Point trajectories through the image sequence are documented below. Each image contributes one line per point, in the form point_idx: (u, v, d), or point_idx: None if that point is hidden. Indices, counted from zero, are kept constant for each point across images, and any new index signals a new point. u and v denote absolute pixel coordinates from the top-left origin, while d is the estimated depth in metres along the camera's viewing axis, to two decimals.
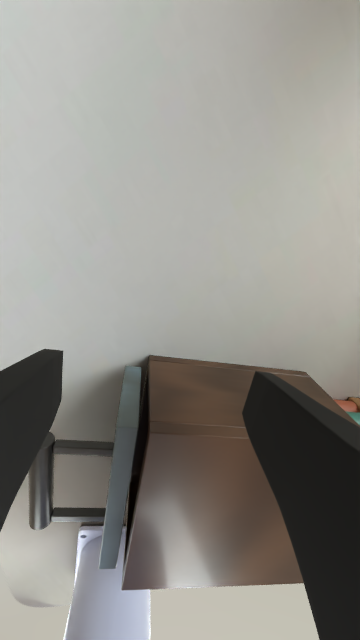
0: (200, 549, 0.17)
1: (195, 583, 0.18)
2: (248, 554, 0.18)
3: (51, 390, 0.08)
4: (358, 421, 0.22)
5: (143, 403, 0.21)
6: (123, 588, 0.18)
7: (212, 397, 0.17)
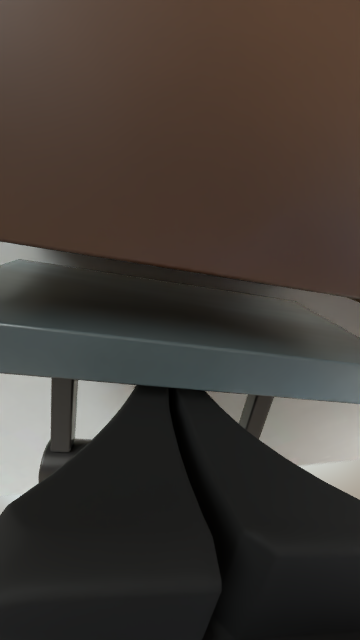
0: None
1: None
2: None
3: None
4: None
5: None
6: None
7: None
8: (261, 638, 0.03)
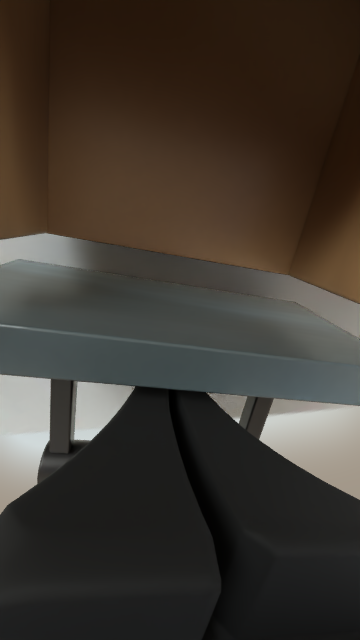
0: None
1: None
2: None
3: None
4: None
5: None
6: None
7: None
8: (261, 638, 0.03)
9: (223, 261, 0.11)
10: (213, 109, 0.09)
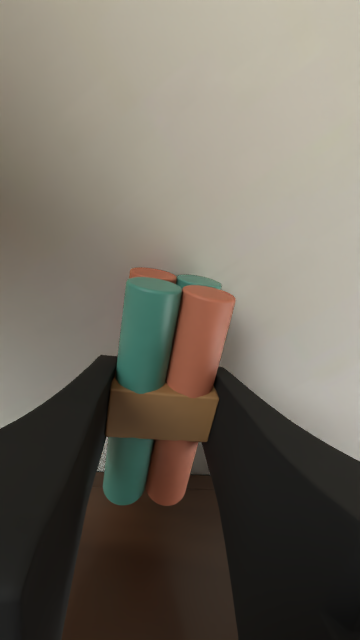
0: None
1: None
2: None
3: None
4: (112, 464, 0.09)
5: None
6: None
7: None
8: None
9: None
10: None
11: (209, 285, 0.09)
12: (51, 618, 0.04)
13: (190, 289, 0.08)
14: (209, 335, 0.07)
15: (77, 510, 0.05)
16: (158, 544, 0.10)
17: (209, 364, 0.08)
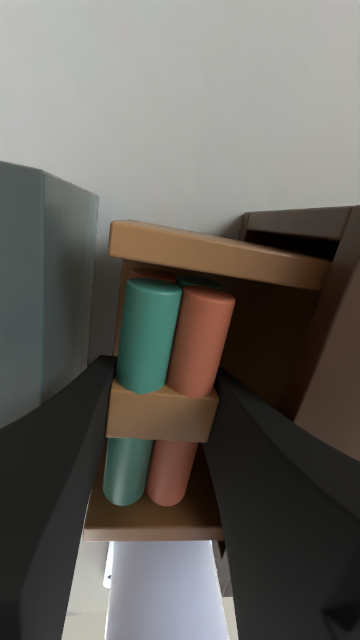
0: None
1: None
2: None
3: None
4: (112, 464, 0.09)
5: None
6: (226, 593, 0.10)
7: None
8: None
9: None
10: None
11: (209, 285, 0.09)
12: (51, 618, 0.04)
13: (190, 289, 0.08)
14: (209, 336, 0.07)
15: (77, 510, 0.05)
16: None
17: (209, 365, 0.08)
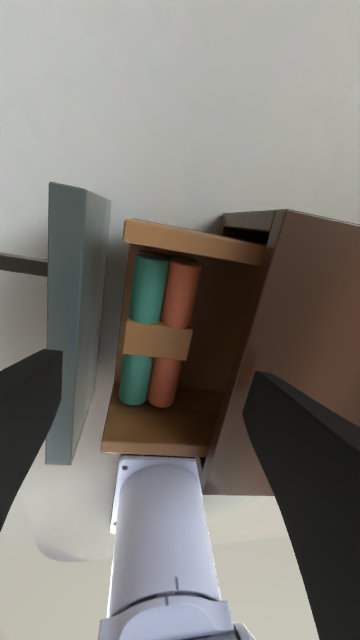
0: None
1: None
2: None
3: (51, 390, 0.08)
4: (125, 375, 0.14)
5: None
6: (205, 491, 0.13)
7: None
8: None
9: (119, 343, 0.17)
10: (198, 330, 0.17)
11: (187, 260, 0.14)
12: None
13: (174, 260, 0.13)
14: (185, 287, 0.12)
15: None
16: None
17: (186, 306, 0.13)
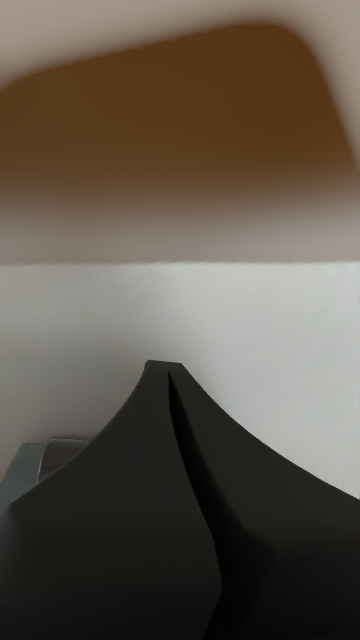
0: None
1: None
2: None
3: None
4: None
5: None
6: None
7: None
8: (261, 638, 0.03)
9: None
10: None
11: None
12: None
13: None
14: None
15: None
16: None
17: None
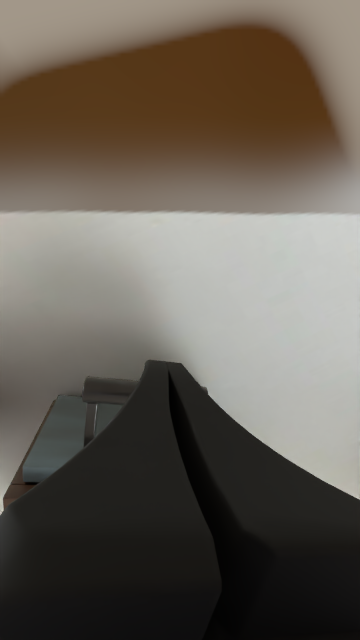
0: None
1: None
2: None
3: None
4: None
5: None
6: (8, 500, 0.14)
7: None
8: (261, 638, 0.03)
9: None
10: None
11: None
12: None
13: None
14: None
15: None
16: None
17: None
